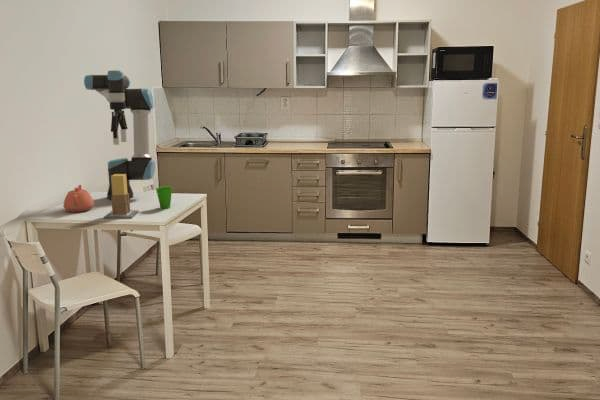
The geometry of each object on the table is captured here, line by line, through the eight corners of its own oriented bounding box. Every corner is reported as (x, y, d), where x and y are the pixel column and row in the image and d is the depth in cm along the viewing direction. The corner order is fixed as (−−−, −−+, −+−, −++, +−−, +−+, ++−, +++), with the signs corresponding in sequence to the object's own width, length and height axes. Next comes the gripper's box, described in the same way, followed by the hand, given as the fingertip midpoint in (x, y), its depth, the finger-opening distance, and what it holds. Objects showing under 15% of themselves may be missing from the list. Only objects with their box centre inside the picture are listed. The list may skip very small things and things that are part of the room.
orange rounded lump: (67, 206, 306) (65, 184, 304) (96, 204, 310) (94, 183, 307) (61, 215, 285) (58, 192, 283) (91, 213, 289) (89, 190, 286)
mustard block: (115, 193, 284) (114, 174, 282) (127, 193, 285) (126, 174, 282) (112, 195, 278) (110, 176, 276) (124, 195, 279) (122, 175, 277)
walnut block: (116, 211, 287) (115, 193, 285) (130, 211, 287) (128, 192, 285) (112, 214, 280) (111, 195, 278) (126, 214, 280) (125, 195, 278)
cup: (176, 206, 304) (175, 187, 302) (168, 210, 296) (167, 190, 293) (162, 205, 306) (161, 186, 304) (153, 209, 298) (152, 189, 296)
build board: (112, 212, 290) (111, 210, 290) (138, 212, 291) (138, 209, 291) (103, 218, 277) (103, 216, 276) (131, 218, 277) (131, 216, 277)
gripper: (117, 100, 291) (120, 140, 295) (102, 102, 266) (105, 145, 271) (131, 100, 291) (134, 140, 295) (117, 102, 267) (120, 145, 271)
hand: (120, 143), depth 283 cm, fingers open, 13 cm apart
